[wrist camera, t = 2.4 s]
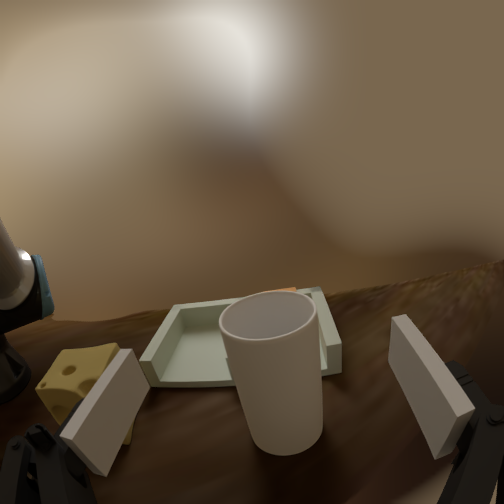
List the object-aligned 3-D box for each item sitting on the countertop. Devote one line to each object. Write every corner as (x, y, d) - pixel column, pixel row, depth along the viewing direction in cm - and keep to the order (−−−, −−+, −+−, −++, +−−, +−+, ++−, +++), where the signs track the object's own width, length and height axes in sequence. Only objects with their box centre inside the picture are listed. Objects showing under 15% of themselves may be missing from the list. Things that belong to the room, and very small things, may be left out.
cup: (237, 431, 28) (199, 319, 24) (285, 394, 33) (267, 284, 29) (288, 468, 22) (265, 354, 18) (337, 420, 27) (336, 301, 22)
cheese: (132, 446, 26) (93, 391, 23) (68, 441, 25) (29, 388, 23) (145, 394, 36) (119, 340, 33) (88, 396, 35) (60, 346, 33)
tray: (341, 372, 35) (341, 339, 33) (151, 386, 38) (137, 357, 36) (322, 310, 52) (319, 283, 50) (181, 327, 55) (173, 302, 53)
